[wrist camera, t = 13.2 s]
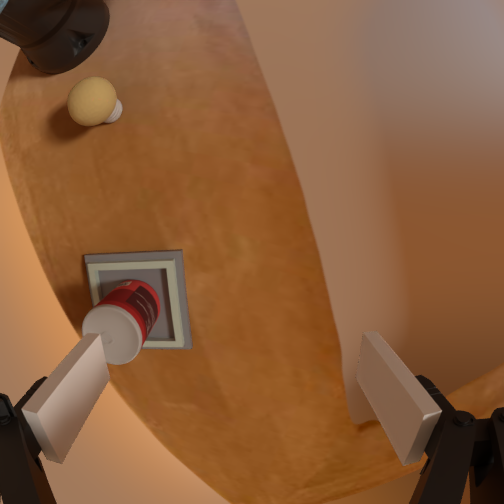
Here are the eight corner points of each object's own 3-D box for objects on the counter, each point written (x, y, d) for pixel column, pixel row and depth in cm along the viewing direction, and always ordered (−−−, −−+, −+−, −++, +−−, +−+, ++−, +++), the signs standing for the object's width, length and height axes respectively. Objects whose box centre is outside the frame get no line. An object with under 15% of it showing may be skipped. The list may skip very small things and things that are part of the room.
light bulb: (139, 118, 40) (112, 102, 30) (101, 140, 40) (67, 132, 30) (123, 82, 38) (95, 61, 29) (87, 105, 39) (53, 90, 29)
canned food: (105, 311, 44) (74, 344, 34) (124, 267, 43) (93, 293, 32) (148, 336, 46) (126, 376, 35) (170, 294, 44) (151, 328, 33)
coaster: (87, 254, 44) (80, 257, 41) (182, 249, 44) (179, 252, 42) (104, 344, 47) (99, 350, 45) (192, 345, 47) (190, 353, 45)
